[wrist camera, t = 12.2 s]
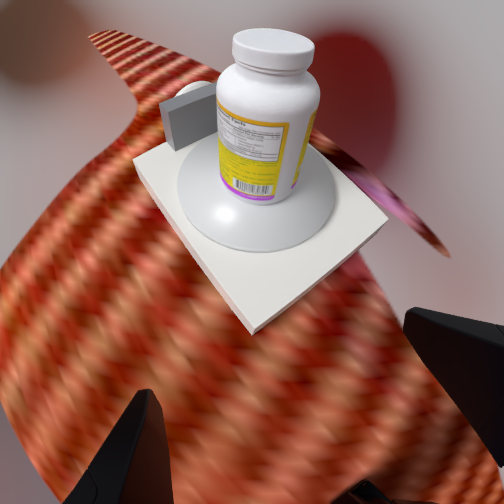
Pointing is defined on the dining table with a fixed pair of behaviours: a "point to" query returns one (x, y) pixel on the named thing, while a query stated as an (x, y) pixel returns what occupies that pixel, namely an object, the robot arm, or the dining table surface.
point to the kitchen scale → (252, 214)
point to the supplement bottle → (265, 114)
